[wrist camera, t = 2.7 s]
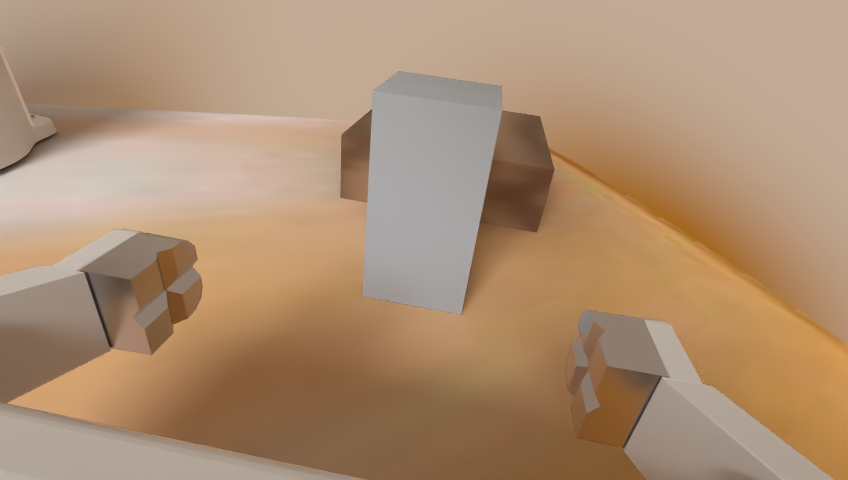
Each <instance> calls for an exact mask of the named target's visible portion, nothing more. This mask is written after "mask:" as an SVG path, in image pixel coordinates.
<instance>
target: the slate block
mask: <svg viewBox="0 0 848 480" xmlns="http://www.w3.org/2000/svg"><path fill="white" fill-rule="evenodd" d="M501 114H502V87H501V86H496V85H490V84H482V83H476V82H469V81H462V80H455V79H449V78H441V77H435V76H428V75H421V74H414V73H407V72H401V71H399V72H397V73H396V74H395V75H393V76H392V77H391V78H389V79H388V80H387V81H385V82H384V83H383V84H382V85H380V86H379V87H377V88H376V89H375V90H373V103H372V122H371V141H370V160H369V179H368V198H367V218H366V237H365V256H364V275H363V294H362V296H363V297H368V298H373V299H379V300H384V301H390V302H395V303H400V304H406V305H411V306H417V307H422V308H427V309H433V310H438V311H443V312H449V313H454V314H460V315H461V313H462V308H463V303H464V298H465V293H466V288H467V283H468V278H469V273H470V268H471V263H472V258H473V253H474V248H475V243H476V238H477V233H478V228H479V223H480V218H481V213H482V208H483V203H484V198H485V193H486V189H487V184H488V179H489V174H490V169H491V164H492V159H493V154H494V149H495V144H496V139H497V134H498V129H499V124H500V119H501Z"/></svg>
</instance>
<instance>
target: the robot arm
mask: <svg viewBox="0 0 848 480" xmlns="http://www.w3.org/2000/svg"><path fill="white" fill-rule="evenodd" d="M56 131H57V130H56V128H55V126H54V123H53V121H52V119H50V118H48V117H44V116H40V115H36V114H31V113H29V112H28V110H27V107H26V105H25V103H24V100H23V98H22V95H21V93H20V91H19V88H18V86H17V83H16V81H15V79H14V76H13V74H12V71H11V69H10V67H9V64H8V62H7V60H6V57H5V55H4V53H3V51H2V48H1V46H0V169H2V168H4V167H7V166H9V165H11V164H13V163H15V162H17V161H18V160H20V159H22V158H23V157H24V156H26V155H27V154H28V153H29V152H30V150H31V149H32V147H33V145H34V144H35V143H36V142H37V141H40V140H42V139H44V138H46V137H49V136H51V135H53V134H54V133H56ZM197 260H198V258H197V254H196V249H195V246H194V245H193V244H192V243H190V242H189V241H187V240H182V239H176V238H171V237H166V236H161V235H156V234H151V233H143V232H140V231H134V230H128V229H114V230H113V231H111V232H109V233H107V234H106V235H104V236H102V237H101V238H99V239H97V240H95V241H94V242H92V243H90V244H89V245H87V246H85V247H84V248H82V249H80V250H78V251H77V252H75V253H73V254H72V255H70V256H68V257H66V258H65V259H63V260H61V261H60V262H58V263H56V264H54V265H53V266H47V265H42V266H38V267H34V268H30V269H26V270H22V271H18V272H13V273H9V274H5V275H1V276H0V480H367V479H363V478H358V477H353V476H348V475H344V474H339V473H334V472H329V471H325V470H320V469H315V468H310V467H306V466H301V465H296V464H291V463H287V462H282V461H277V460H272V459H268V458H263V457H258V456H253V455H249V454H244V453H239V452H234V451H230V450H225V449H220V448H215V447H211V446H206V445H201V444H196V443H192V442H187V441H182V440H177V439H173V438H168V437H163V436H158V435H154V434H149V433H144V432H139V431H135V430H130V429H125V428H120V427H116V426H111V425H106V424H101V423H97V422H92V421H87V420H82V419H78V418H73V417H68V416H63V415H59V414H54V413H49V412H44V411H40V410H35V409H30V408H25V407H21V406H16V405H11V404H6V403H8V402H10V401H12V400H14V399H16V398H18V397H20V396H22V395H24V394H26V393H28V392H30V391H32V390H34V389H36V388H38V387H40V386H42V385H43V384H45V383H47V382H49V381H51V380H53V379H55V378H57V377H59V376H61V375H63V374H65V373H67V372H69V371H71V370H73V369H75V368H77V367H79V366H81V365H83V364H85V363H87V362H89V361H91V360H93V359H95V358H97V357H99V356H101V355H103V354H105V353H107V352H109V351H110V350H111V349H117V350H123V351H129V352H135V353H141V354H148V355H152V354H153V353H154V352H155V351H156V350H157V349H158V348H159V347H160V346H161V345H162V344H163V343H164V342H165V341H166V340H167V339H168V338H169V337H170V336H171V335H172V334H173V333H174V324H176V323H178V322H181V321H183V320H185V319H188V318H189V316H190V315H191V314H192V313H193V312H194V311H195V310H196V308H197V306H198V304H199V302H200V299H201V297H202V287H203V286H202V280H201V276H200V275H199V274H198V273H197V271H196V270H195V269H194V268H193V265H194V264H195V263H196V261H197ZM578 328H579V333H580V338H578V339H577V340H575V341H574V342H572V343H571V346H570V350H569V353H568V356H567V363H566V382H567V388H568V390H569V392H570V393H571V394H572V395H573V396H574V397H575V399H574V402H573V404H572V407H571V411H572V416H573V421H574V427H575V432H576V437H577V438H579V439H583V440H588V441H592V442H597V443H601V444H606V445H610V446H615V447H619V448H624V452H625V453H626V455H627V456H628V457H629V459H630V460H631V461H632V463H633V464H634V465H635V467H636V468H637V469H638V470H639V472H640V473H641V474H642V476H643V477H644V478H645V480H834V479H833V478H831V477H830V476H829V475H828V474H826V473H825V472H824V471H822V470H821V469H820V468H818V467H817V466H816V465H815V464H813V463H812V462H811V461H809V460H808V459H807V458H805V457H804V456H803V455H802V454H800V453H799V452H798V451H796V450H795V449H794V448H792V447H791V446H790V445H788V444H787V443H786V442H785V441H783V440H782V439H781V438H779V437H778V436H777V435H775V434H774V433H773V432H772V431H770V430H769V429H768V428H766V427H765V426H764V425H762V424H761V423H760V422H758V421H757V420H756V419H755V418H753V417H752V416H751V415H749V414H748V413H747V412H745V411H744V410H743V409H742V408H740V407H739V406H738V405H736V404H735V403H734V402H732V401H731V400H730V399H729V398H727V397H726V396H725V395H723V394H722V393H721V392H719V391H718V390H717V389H715V388H714V387H713V386H710V385H704V384H703V383H702V381H701V379H700V377H699V376H698V374H697V372H696V370H695V368H694V366H693V365H692V363H691V361H690V359H689V357H688V355H687V354H686V352H685V350H684V348H683V346H682V344H681V343H680V341H679V339H678V337H677V335H676V333H675V331H674V330H673V328H672V326H671V325H670V324H669V323H668V322H666V321H661V320H654V319H647V318H640V317H639V318H636V317H630V316H623V315H617V314H611V313H604V312H598V311H592V310H585V311H584V313H583V314H582V316H581V318H580V321H579V324H578ZM110 348H111V349H110Z"/></svg>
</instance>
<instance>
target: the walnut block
mask: <svg viewBox="0 0 848 480" xmlns="http://www.w3.org/2000/svg"><path fill="white" fill-rule="evenodd" d="M371 122H372V109H371V110H370V111H369V112H368V113H367V114H365V115H364V116H363V117H362V118H361V119H360V120H358V121H357V122H356V123H355V124H354V125H352V126H351V127H350V128H349V129H348V130H347V131H345V132H344V133H343V134H342V139H341V198H345V199H351V200H356V201H362V202H367V198H368V179H369V160H370V141H371ZM553 172H554V167H553V163H552V159H551V156H550V152H549V148H548V145H547V141H546V137H545V133H544V130H543V126H542V123H541V119H540V116H533V115H527V114H521V113H514V112H508V111H502V114H501V119H500V124H499V129H498V134H497V139H496V144H495V149H494V154H493V159H492V164H491V169H490V174H489V179H488V184H487V189H486V193H485V198H484V203H483V208H482V213H481V218H480V222H481V223H486V224H492V225H498V226H503V227H509V228H514V229H520V230H526V231H531V232H537V230H538V226H539V222H540V219H541V215H542V212H543V208H544V204H545V201H546V197H547V194H548V190H549V187H550V183H551V179H552V176H553Z"/></svg>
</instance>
